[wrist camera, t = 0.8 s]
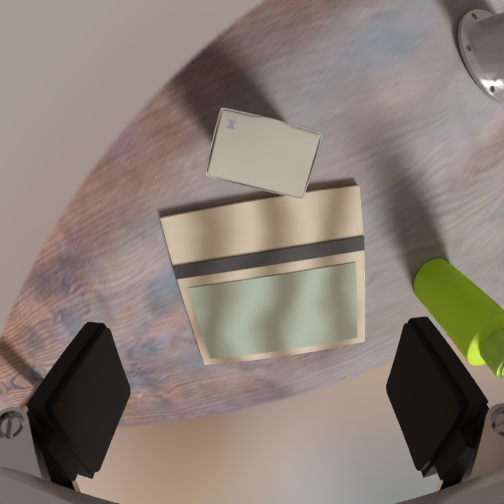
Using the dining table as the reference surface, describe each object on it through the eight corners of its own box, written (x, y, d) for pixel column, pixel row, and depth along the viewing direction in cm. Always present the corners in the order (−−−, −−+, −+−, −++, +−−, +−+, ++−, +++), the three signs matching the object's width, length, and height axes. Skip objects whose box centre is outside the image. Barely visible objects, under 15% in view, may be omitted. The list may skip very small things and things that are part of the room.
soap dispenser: (441, 308, 35) (523, 414, 16) (405, 293, 34) (491, 414, 15) (463, 270, 33) (563, 363, 14) (428, 250, 32) (540, 353, 13)
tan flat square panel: (356, 184, 29) (360, 185, 28) (362, 337, 36) (364, 342, 35) (162, 216, 31) (159, 219, 30) (205, 360, 38) (204, 365, 37)
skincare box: (221, 160, 29) (197, 176, 18) (232, 117, 27) (215, 104, 16) (286, 176, 29) (304, 203, 18) (298, 134, 28) (325, 132, 16)
